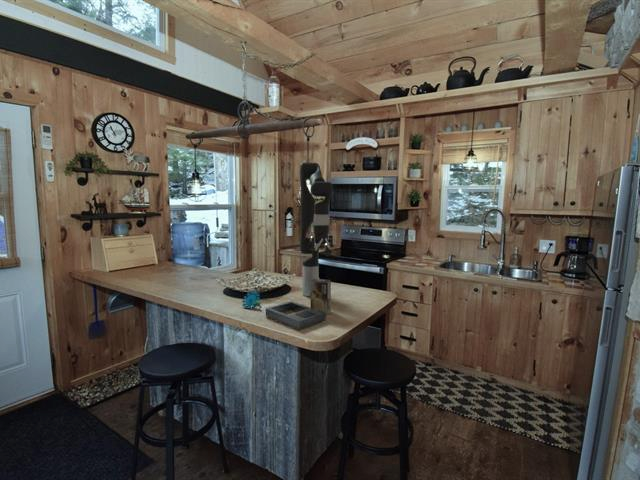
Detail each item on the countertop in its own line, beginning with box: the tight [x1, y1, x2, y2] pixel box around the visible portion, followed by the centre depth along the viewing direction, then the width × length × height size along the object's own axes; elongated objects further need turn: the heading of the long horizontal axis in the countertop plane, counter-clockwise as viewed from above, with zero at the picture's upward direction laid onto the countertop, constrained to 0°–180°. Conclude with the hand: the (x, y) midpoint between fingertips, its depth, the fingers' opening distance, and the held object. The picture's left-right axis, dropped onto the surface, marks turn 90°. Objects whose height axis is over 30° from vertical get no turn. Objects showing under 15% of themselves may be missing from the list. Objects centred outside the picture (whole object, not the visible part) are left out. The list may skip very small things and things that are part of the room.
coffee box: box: [309, 278, 332, 316], centre depth 168 cm, size 9×6×16 cm
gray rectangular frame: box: [265, 300, 327, 331], centre depth 159 cm, size 16×24×4 cm, turn 45°
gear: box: [241, 291, 262, 310], centre depth 177 cm, size 11×6×10 cm
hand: (321, 257), depth 165 cm, fingers open, 8 cm apart
